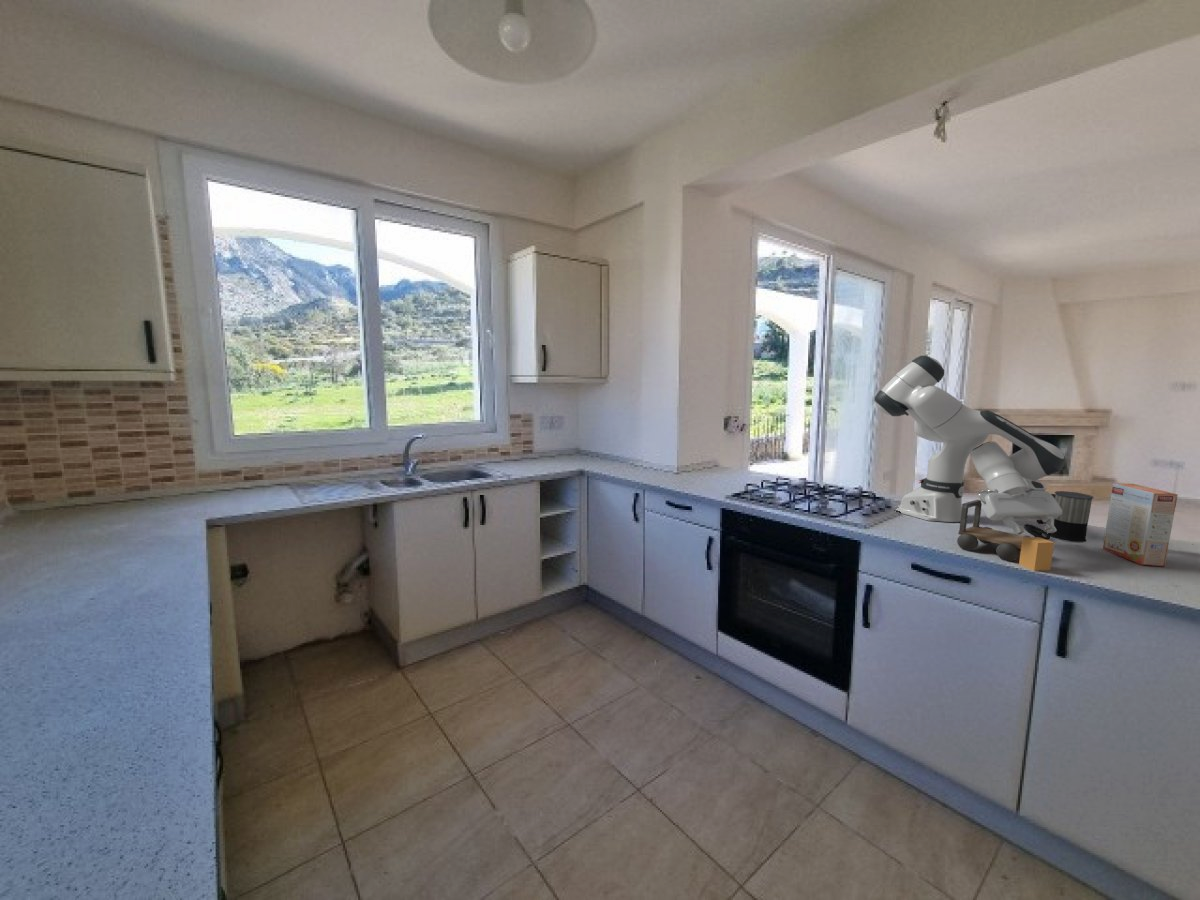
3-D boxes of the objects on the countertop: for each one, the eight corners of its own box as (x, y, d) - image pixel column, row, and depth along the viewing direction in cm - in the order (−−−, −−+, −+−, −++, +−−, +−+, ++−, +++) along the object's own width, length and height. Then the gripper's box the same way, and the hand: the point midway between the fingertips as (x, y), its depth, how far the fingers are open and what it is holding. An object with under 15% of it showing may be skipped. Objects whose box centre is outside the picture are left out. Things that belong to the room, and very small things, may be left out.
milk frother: (1090, 539, 160) (1097, 495, 158) (1076, 548, 152) (1083, 501, 149) (1034, 528, 172) (1040, 486, 170) (1018, 536, 163) (1023, 492, 161)
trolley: (954, 547, 152) (959, 504, 150) (975, 539, 160) (980, 498, 158) (1018, 564, 139) (1024, 517, 137) (1038, 555, 146) (1044, 510, 144)
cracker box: (1166, 567, 137) (1179, 493, 134) (1140, 565, 138) (1153, 492, 135) (1124, 550, 150) (1135, 483, 147) (1101, 548, 152) (1111, 482, 148)
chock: (1018, 564, 139) (1022, 537, 137) (1034, 564, 139) (1038, 537, 138) (1034, 571, 134) (1038, 542, 133) (1050, 570, 134) (1054, 542, 133)
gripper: (982, 484, 141) (1008, 528, 133) (1049, 483, 143) (1079, 526, 135) (968, 496, 147) (992, 538, 138) (1033, 494, 148) (1061, 536, 140)
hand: (1036, 532), depth 136 cm, fingers open, 8 cm apart
